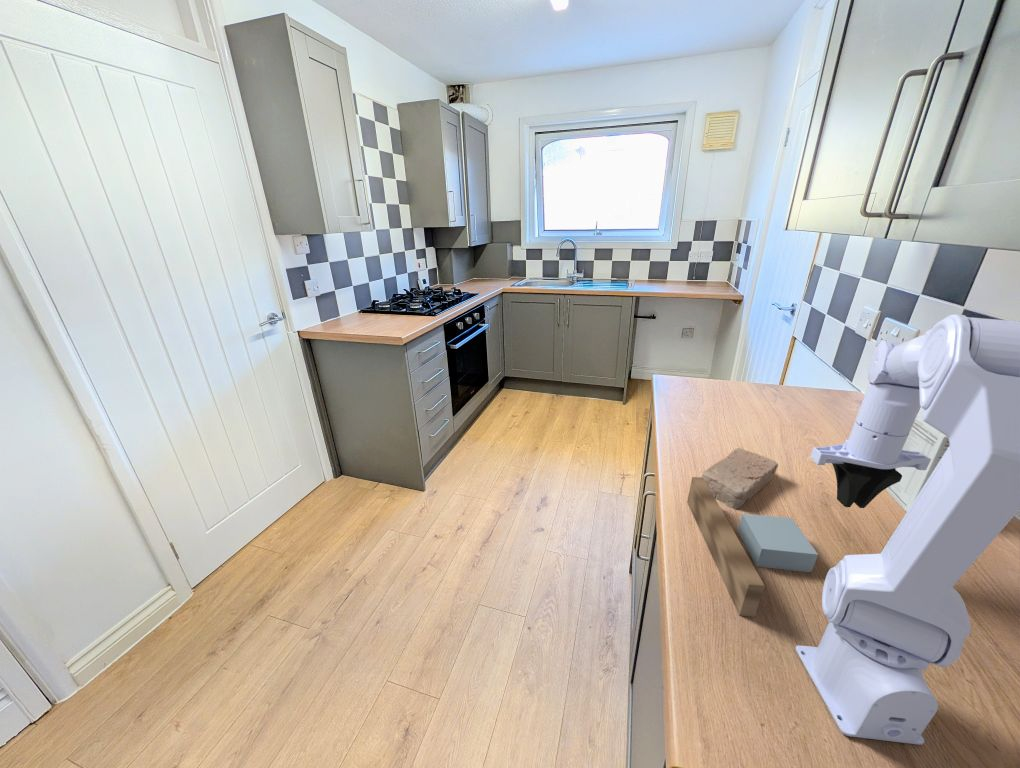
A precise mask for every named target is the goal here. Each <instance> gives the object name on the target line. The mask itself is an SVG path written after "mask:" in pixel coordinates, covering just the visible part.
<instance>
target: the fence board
mask: <svg viewBox="0 0 1020 768" xmlns="http://www.w3.org/2000/svg"><path fill="white" fill-rule="evenodd" d="M686 503H687V505H688V507H689V509H690V511H691V514H692V516H693V518H694V520H695V522H696V525H697V527H698V529H699V532H700V533H701V536H702V537H703V540H704V542H705V544H706V546H707V549H708V551H709V553H710V555H711V557H712V560H713V562H714V564H715V565H716V568H717V570H718V572H719V575H720V576H721V578H722V581H723V583H724V585H725V587H726V589H727V592H728V593H729V596H730V598H731V600H732V603H733V604H734V607H735V609H736V611H737V613H738V615H739V616H743V617H753V618H754V617H755V616H756V614H757V610H758V607H759V604H760V601H761V598H762V595H763V592H764V589H765V583H764V582H763V580H762V579H761V577H760V575H759V573H758V572H757V570H756V568H755V566H754V565H753V562H752V561H751V559H750V557H749V556H748V554H747V552H746V550H745V548H744V547H743V545H742V543H741V541H740V540H739V539H738V537H737V535H736V532H735V531H734V529H733V528H732V526H731V524H730V522H729V521H728V519H727V517H726V515H725V514H724V512H723V510H722V508H721V507H720V505H719V503H718V500H717V499H715V498H714V496H713V494H712V492H711V490H710V489H709V487H708V485H707V483H706V482H705V480H704V478H701V477H700V476H698V477H697V476H692V477H691V482H690V486H689V492H688V496H687V500H686Z"/></svg>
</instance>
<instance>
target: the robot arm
mask: <svg viewBox="0 0 1020 768" xmlns="http://www.w3.org/2000/svg"><path fill="white" fill-rule="evenodd" d="M867 371H868V373H867V379H868V385H867V388H866V391H865V393H864V395H863V399H862V401H861V405H860V407H859V409H858V412H857V414H856V417H855V420H854V422H853V423H854V424H853V425H852V429H851V431H850V434H849V437H848V438H846V439H845V441H844V443H841V444H834V445H827V446H814V447H812V451H811V453H810V456H809V459H811V460H812V461H813V462H814V463H815V464H816V465H817V466H825V465H826V464H832V467H833V469H834V473H835V478H836V487H837V488H836V500H837V501H838V502H839V503H840V504H841V505H842V506H843V507H845V508H851V507H852V505H854V504H855V505H856V506H857V507H858V508H859V509H865V508H866V507H868V505H869V504H870V503H871V502H872V501H873V500H874V499H875V498H876V497H877V496H878V495H879V494H881V493H882V492H884V490H886V488H888V487H889V486H891V485H893V484H895V483H897V482H900V480H901V478H902V475H901V474H900V473H899V472H898V471H896V470H895V469H896V468H899V467H915V468H916V469H918V470H926V469H927V467H928V465H929V463H930V461H931V459H930V458H928V457H927V456H925V455H924V454H922V453H921V452H914V451H906V450H902V448H903V446H904V444H905V442H906V439H907V437H908V435H909V433H910V430H911V428H912V426H913V423H914V421H915V419H916V417H917V415H919V412H920V409H921V410H922V411H921V412H922V413H921V415H922V419H923V421H924V422H926V423H927V424H929V425H930V426H932V427H934V428H935V429H937V430H938V431H940V432H941V433H943V434H944V435H946V436H947V437H948V438H949V443H950V446H949V447H948V449H947V450H946V452H945V453H944V455H943V457H942V458H941V460H940V461H939V463H938V464H937V466H936V468H935V469H934V471H933V472H932V474H931V475H930V477H929V478H928V480H927V482H926V483H925V485H924V486H923V488H922V489H921V491H920V493H919V494H918V496H917V497H916V499H915V500H914V502H913V504H912V505H911V507H910V508H909V510H908V511H907V512H906V513H905V514H904V516H903V517H902V519H901V521H900V522H899V524H898V525H897V527H896V528H895V530H894V532H893V533H892V535H891V537H890V538H889V540H888V541H887V543H886V544H885V546H884V548H883V549H882V551H881V552H880V553H866V554H865V553H863V554H861V553H860V554H846V555H844V556H843V558H842V559H841V560H839V561H838V563H837V565H835V566H834V567H831V568H829V570H828V572H827V573H826V576H825V579H824V583H823V588H822V592H821V593H822V594H821V609H822V612H823V614H824V616H825V618H826V619H827V620H828V624H827V626H826V628H825V630H824V633H823V635H822V638H821V640H820V642H819V644H818V646H810V645H800V644H799V645H796V646H795V651H796V653H797V655H798V657H799V658H800V661H801V662H802V663H803V666H804V668H805V669H806V671H807V672H808V675H809V676H810V678H811V680H812V681H813V683H814V685H815V687H816V689H817V691H818V693H819V694H820V696H821V698H822V700H823V702H824V704H825V705H826V707H827V709H828V711H829V713H830V714H831V716H832V718H833V720H834V721H835V723H836V725H837V726H838V728H839V729H838V730H840V732H841V733H842V734H843V735H844V736H847V737H853V738H861V739H867V740H868V739H869V740H879V741H886V742H896V743H903V744H912V745H917V746H918V745H920V746H922V745H924V743H925V741H926V740H925V739H924V737H923V735H922V734H923V732H924V731H925V729H926V728H927V727H928V725H929V724H930V722H931V721H932V720H933V718H934V717H935V715H936V713H937V711H938V709H939V703H938V700H937V699H936V697H935V695H934V693H933V692H932V691H931V689H930V688H929V685H928V683H927V682H926V680H925V678H924V675H923V672H922V671H924V672H925V671H927V669H928V667H929V666H930V665H931V664H932V665H935V666H937V667H939V668H946V667H948V666H950V665H952V664H954V663H955V662H957V661H958V660H959V658H960V656H961V654H962V651H963V648H964V643H965V642H966V640H967V638H968V636H969V635H970V634H971V631H972V627H971V620H970V617H969V614H968V609H967V606H966V604H965V602H964V600H963V597H962V595H960V593H959V592H958V591H957V590H956V589H955V588H954V586H956V584H957V582H958V581H959V580H961V578H962V577H963V576H964V575H965V573H966V572H967V571H968V570H969V569H970V567H972V565H973V564H975V562H976V561H977V559H978V558H979V557H980V556H981V555H982V553H983V552H985V550H986V549H987V548H988V547H989V546H990V544H991V543H992V542H993V541H994V540H995V539H996V537H997V536H998V535H999V534H1000V533H1001V532H1002V531H1003V529H1004V528H1005V527H1006V526H1007V525H1008V524H1009V522H1010V521H1011V520H1012V519H1013V518H1014V517H1015V516H1016V514H1017V513H1019V511H1020V321H1019V320H1006V319H994V318H984V317H983V318H981V317H969V316H966V315H965V314H959V313H958V314H955V313H954V314H949V315H948V316H946V317H945V318H942V319H941V320H940V321H938V322H936V323H935V324H934V325H933V327H932V328H930V329H929V330H926V331H925V334H921V335H920V336H917V337H914V338H912V339H910V340H907V341H905V342H903V343H897V342H891V341H888V340H884V339H883V340H882V341H881V342H879V344H878V345H877V346H876V347H875V348H874V352H873V353H872V355H871V357H870V360H869V365H868V370H867Z"/></svg>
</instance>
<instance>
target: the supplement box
mask: <svg viewBox="0 0 1020 768" xmlns="http://www.w3.org/2000/svg"><path fill="white" fill-rule="evenodd" d="M949 446H950V443H949V438H948V437H947V436H946V435H944V434H943V433H941V432H940V431H938V430H937V429H935V428H934V427H932V426H930V425H929V424H927V423H926V422H924V421H923V419H922V414H917V417H916V419H915V421H914V423H913V426H912V428H911V430H910V433H909V435H908V437H907V439H906V442H905V444H904V446H903V448H902V450H906V451H914V452H921V453H922V454H924V455H925V456H927V457H928V458H930V459H931V461H930V463H929V465H928V467H927V469H926V470H918V469H916V468H915V467H899V468H896V469H895V470H896V471H898V472H899V473H900V474H901V475H902V478H901V480H900V482H897V483H895V484H893V485H891V486H889V487H888V488H886V489H885V491H886V492H887V493H888V494H889V495H890V496H891V497H892V499H893V500H894V501H895V502H896V503H898V505H899V506H900V507H901V508H902V509H903V510H904V511H905V512H906V513H907V511H908V510H909V508H910V507H911V505H912V504H913V502H914V500H915V499H916V497H917V496H918V494H919V493H920V491H921V489H922V488H923V486H924V485H925V483H926V482H927V480H928V478H929V477H930V475H931V474H932V472H933V471H934V469H935V468H936V466H937V464H938V463H939V461H940V460H941V458H942V457H943V455H944V453H945V452H946V450H947V449H948V447H949Z"/></svg>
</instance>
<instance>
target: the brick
mask: <svg viewBox="0 0 1020 768" xmlns="http://www.w3.org/2000/svg"><path fill="white" fill-rule="evenodd" d="M778 466H779V463H778V462H776V461H775V460H773V459H771V458H769V457H767V456H764V455H761V454H758V453H755V452H753V451H749V450H746V449H743V448H741V447H737V448H735V449H733V450H732V451H731V452H730V453H729V454H728V455H727V456H726V457H725V458H722V459H721V460H719V461H717V462H716V463H714V464H713V465H711V466H709V468H707V469H705V471H703V472H702V475H701V478H704V480H705V482H706V483H707V485H708V487H709V489H710V490H711V492H712V494H713V496H714V498H715V499H716V501H718V502H720V503H722V504H723V505H725V506H726V507H728V508H730V509H733V510H737V509H739V508H741V507H743V505H745V503H746V502H747V501H748V500H750V499H751V498H752V497H753V496H755V495H756V494H757V493H758V492H759V491H761V490H762V489H763V487H765V486H766V485H767V484H768V483H769V482H770V481H772V480H773V478H774V477H775V474H776V472H777V469H778Z"/></svg>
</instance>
